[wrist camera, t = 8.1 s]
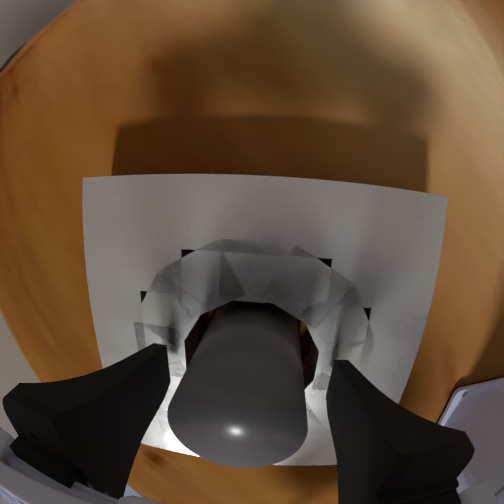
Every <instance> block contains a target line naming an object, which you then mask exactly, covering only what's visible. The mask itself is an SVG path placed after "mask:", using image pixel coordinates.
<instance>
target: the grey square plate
mask: <svg viewBox="0 0 504 504" xmlns="http://www.w3.org/2000/svg"><path fill="white" fill-rule="evenodd" d="M446 207H447V196H442V195H436V194H431V193H425V192H418V191H412V190H405V189H399V188H392V187H384V186H376V185H368V184H360V183H351V182H341V181H331V180H320V179H308V178H295V177H279V176H260V175H234V174H147V175H121V176H103V177H89V178H83V232H84V249H85V261H86V272H87V281H88V289H89V297H90V304H91V310H92V316H93V322H94V328H95V333H96V338H97V343H98V348H99V353H100V357H101V362H102V366H103V368H106V367H108V366H110V365H112V364H114V363H116V362H119V361H121V360H123V359H125V358H126V357H128V356H130V355H132V354H134V353H136V352H138V351H139V350H141V349H143V348H145V347H147V346H149V345H151V344H153V343H157V344H163V345H167V353H168V362H169V371H170V379H171V382H170V385H169V388H168V391H167V393H166V396H165V398H164V400H163V402H162V404H161V406H160V408H159V410H158V411H157V413H156V415H155V417H154V418H153V420H152V422H151V424H150V426H149V427H148V429H147V431H146V433H145V435H144V437H143V439H142V441H141V443H143V444H146V445H150V446H154V447H158V448H162V449H166V450H170V451H175V452H179V453H184V454H189V455H194V456H198V455H196V454H194V453H193V452H191V451H190V450H189V449H187V448H186V447H185V446H184V445H183V444H182V443H181V442H180V441H179V440H178V439H177V438H176V436H175V435H174V434H173V432H172V430H171V428H170V426H169V423H168V418H167V410H168V406H169V403H170V401H171V399H172V397H173V395H174V393H175V391H176V389H177V387H178V385H179V383H180V381H181V379H182V377H183V375H184V373H185V371H186V369H187V367H188V365H189V363H190V361H191V359H192V357H193V355H194V353H195V351H196V349H197V347H198V345H199V327H198V318H199V317H200V315H201V314H204V313H206V312H208V311H211V310H213V309H215V308H217V307H220V306H222V305H224V304H226V303H229V302H231V301H233V300H235V301H247V302H261V303H273V304H275V305H276V306H278V307H280V308H281V309H283V310H284V311H286V312H288V313H289V314H291V315H293V316H294V317H296V318H297V319H299V320H301V321H302V322H304V323H305V324H306V326H307V328H308V330H309V332H310V334H311V336H312V341H311V347H310V353H309V354H308V355H307V356H306V357H305V359H304V360H303V361H302V368H303V378H304V388H305V398H306V409H307V421H308V433H307V437H306V439H305V442H304V443H303V445H302V446H301V448H300V449H299V450H298V451H297V452H296V453H294V454H293V455H292V456H290V457H289V458H287V459H285V460H283V461H281V462H278V463H276V464H272V465H293V466H314V465H337V459H336V453H335V448H334V443H333V439H332V434H331V430H330V425H329V420H328V416H327V405H326V393H327V389H328V385H329V380H330V376H331V372H332V367H333V362H334V360H349V361H350V362H351V363H352V364H353V365H354V366H355V367H356V368H357V369H358V370H359V371H360V372H361V373H362V374H363V375H364V376H365V377H366V378H367V379H368V380H369V381H370V382H371V383H372V384H373V385H374V386H375V387H377V388H378V389H379V390H380V391H381V392H383V393H384V394H385V395H386V396H387V397H389V398H390V399H391V400H393V401H394V402H396V403H397V404H399V401H400V399H401V396H402V394H403V391H404V389H405V386H406V384H407V381H408V378H409V376H410V373H411V370H412V367H413V364H414V361H415V358H416V355H417V352H418V349H419V346H420V342H421V339H422V336H423V332H424V329H425V325H426V321H427V318H428V314H429V310H430V306H431V301H432V297H433V293H434V288H435V283H436V278H437V273H438V268H439V262H440V256H441V250H442V243H443V235H444V227H445V218H446Z"/></svg>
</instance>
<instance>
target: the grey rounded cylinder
mask: <svg viewBox="0 0 504 504" xmlns="http://www.w3.org/2000/svg"><path fill="white" fill-rule="evenodd" d="M167 418H168V423H169V426H170V428H171V430H172V432H173V434H174V435H175V436H176V438H177V439H178V440H179V441H180V442H181V443H182V444H183V445H184V446H185V447H186V448H187V449H189V450H190V451H191V452H193V453H194V454H196V455H198V456H200V457H202V458H204V459H206V460H208V461H211V462H214V463H217V464H220V465H224V466H230V467H237V468H257V467H264V466H269V465H272V464H276V463H278V462H281V461H283V460H285V459H287V458H289V457H290V456H292V455H293V454H294V453H296V452H297V451H298V450H299V449H300V448H301V446H302V445H303V443H304V442H305V439H306V437H307V433H308V421H307V409H306V398H305V388H304V378H303V368H302V359H301V349H300V341H299V332H298V325H297V322H296V319H295V317H294V316H293V315H291V314H289V313H288V312H286V311H284V310H283V309H281V308H280V307H278V306H276V305H275V304H273V303H261V302H247V301H235V300H233V301H231V302H229V303H226V304H224V305H222V306H220V307H219V308H218V309H217V310H216V312H215V314H214V316H213V318H212V320H211V322H210V324H209V326H208V328H207V329H206V331H205V333H204V335H203V337H202V339H201V341H200V343H199V345H198V347H197V349H196V351H195V353H194V355H193V357H192V359H191V361H190V363H189V365H188V367H187V369H186V371H185V373H184V375H183V377H182V379H181V381H180V383H179V385H178V387H177V389H176V391H175V393H174V395H173V397H172V399H171V401H170V403H169V406H168V410H167Z"/></svg>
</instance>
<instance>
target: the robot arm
mask: <svg viewBox="0 0 504 504" xmlns="http://www.w3.org/2000/svg"><path fill="white" fill-rule="evenodd" d="M170 382H171V379H170V371H169V362H168V353H167V345H163V344H157V343H153V344H151V345H149V346H147V347H145V348H143V349H141V350H139V351H138V352H136V353H134V354H132V355H130V356H128V357H126V358H125V359H123V360H121V361H119V362H116V363H114V364H112V365H110V366H108V367H106V368H103V369H101V370H98V371H96V372H93V373H90V374H87V375H84V376H80V377H76V378H71V379H67V380H62V381H55V382H46V383H19V384H18V385H17V386H16V387H15V388H14V389H12V390H11V391H10V392H9V393H8V394H7V395H6V396H5V397H4V398H3V406H4V410H5V412H6V414H7V416H8V418H9V420H10V422H11V423H12V425H13V427H14V429H15V430H16V432H17V434H18V435H19V436H18V437H17V438H16V439H14V438H13V437H12V436H11V435H10V434H9V433H7V432H6V431H4V430H3V429H2V428H0V495H1V496H2V497H3V498H4V499H5V500H7V501H8V502H9V503H10V504H164V503H161V502H157V501H154V500H150V499H146V498H142V497H137V496H127V497H123V496H124V492H125V487H126V484H127V481H128V478H129V474H130V471H131V468H132V465H133V462H134V459H135V457H136V454H137V451H138V449H139V446H140V444H141V441H142V439H143V437H144V435H145V433H146V431H147V429H148V427H149V426H150V424H151V422H152V420H153V418H154V417H155V415H156V413H157V411H158V410H159V408H160V406H161V404H162V402H163V400H164V398H165V396H166V393H167V391H168V388H169V385H170ZM326 405H327V416H328V420H329V425H330V430H331V434H332V439H333V443H334V448H335V453H336V459H337V471H338V496H339V499H338V504H504V377H503V378H499V379H495V380H491V381H487V382H482V383H478V384H473V385H469V386H464V387H459V388H457V389H456V390H455V391H454V393H453V394H452V397H451V399H450V401H449V403H448V405H447V407H446V409H445V411H444V413H443V414H442V416H441V418H440V420H439V422H438V424H436V423H434V422H431V421H429V420H426V419H424V418H422V417H420V416H418V415H416V414H414V413H412V412H410V411H408V410H407V409H405V408H403V407H402V406H400V405H399V404H397V403H396V402H394V401H393V400H391V399H390V398H389V397H387V396H386V395H385V394H384V393H383V392H381V391H380V390H379V389H378V388H377V387H375V386H374V385H373V384H372V383H371V382H370V381H369V380H368V379H367V378H366V377H365V376H364V375H363V374H362V373H361V372H360V371H359V370H358V369H357V368H356V367H355V366H354V365H353V364H352V363H351V362H350V361H349V360H334V362H333V367H332V372H331V376H330V380H329V385H328V389H327V393H326ZM456 489H457V491H458V493H459V494H458V493H457V491H456Z"/></svg>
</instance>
